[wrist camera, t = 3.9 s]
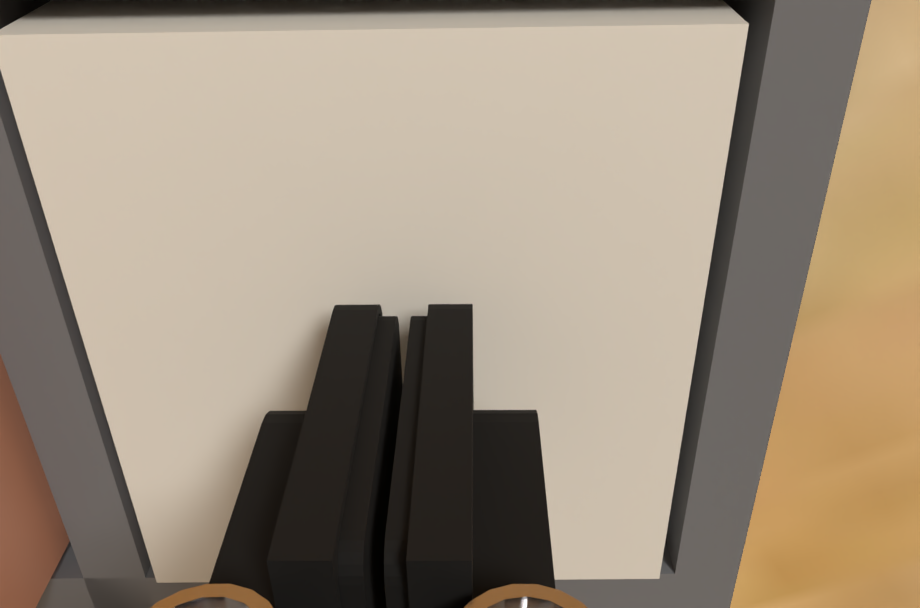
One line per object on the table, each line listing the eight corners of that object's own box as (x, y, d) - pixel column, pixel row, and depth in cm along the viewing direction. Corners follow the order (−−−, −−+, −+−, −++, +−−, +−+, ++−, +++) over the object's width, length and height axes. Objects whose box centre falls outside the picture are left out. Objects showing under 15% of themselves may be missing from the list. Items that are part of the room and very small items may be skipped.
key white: (632, 466, 15) (659, 579, 13) (198, 470, 15) (156, 582, 13) (693, -27, 11) (749, 23, 9) (81, -18, 11) (-10, 35, 9)
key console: (672, 434, 18) (728, 614, 14) (-269, 443, 18) (-463, 622, 14) (762, -159, 12) (900, -125, 8) (-627, -135, 12) (-1114, -91, 9)
